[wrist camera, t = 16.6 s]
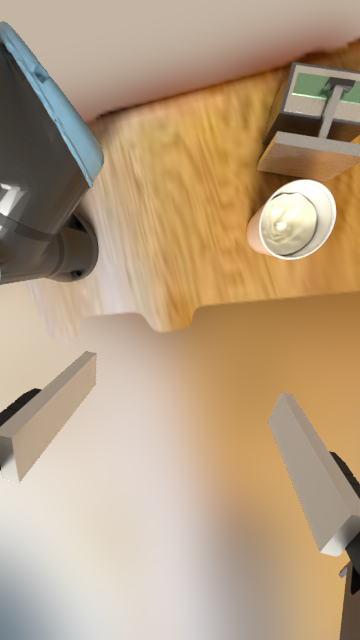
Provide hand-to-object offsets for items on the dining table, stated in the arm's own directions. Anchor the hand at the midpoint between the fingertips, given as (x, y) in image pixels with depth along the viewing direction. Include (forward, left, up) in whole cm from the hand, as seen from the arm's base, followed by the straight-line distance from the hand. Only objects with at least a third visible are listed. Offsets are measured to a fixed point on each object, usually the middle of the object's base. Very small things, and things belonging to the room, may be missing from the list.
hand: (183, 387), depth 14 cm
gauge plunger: (+12, +28, -30) cm, 43 cm away
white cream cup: (+11, +15, -32) cm, 37 cm away
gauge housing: (+12, +31, -31) cm, 45 cm away
